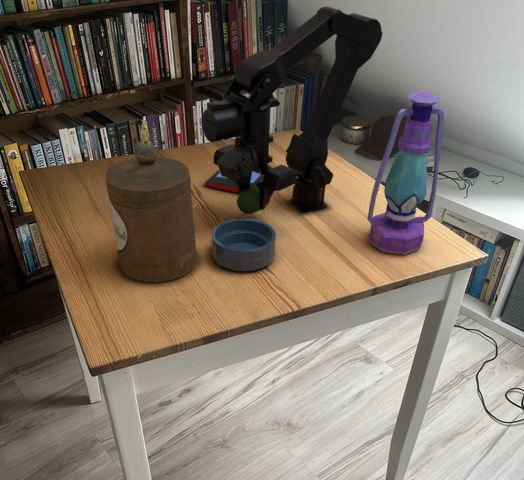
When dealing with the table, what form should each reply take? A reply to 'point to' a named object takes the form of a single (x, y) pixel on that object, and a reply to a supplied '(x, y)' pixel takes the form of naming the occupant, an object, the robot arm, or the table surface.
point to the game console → (230, 181)
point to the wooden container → (152, 217)
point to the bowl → (243, 244)
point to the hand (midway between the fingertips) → (253, 205)
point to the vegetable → (144, 140)
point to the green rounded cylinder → (249, 200)
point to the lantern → (407, 179)
